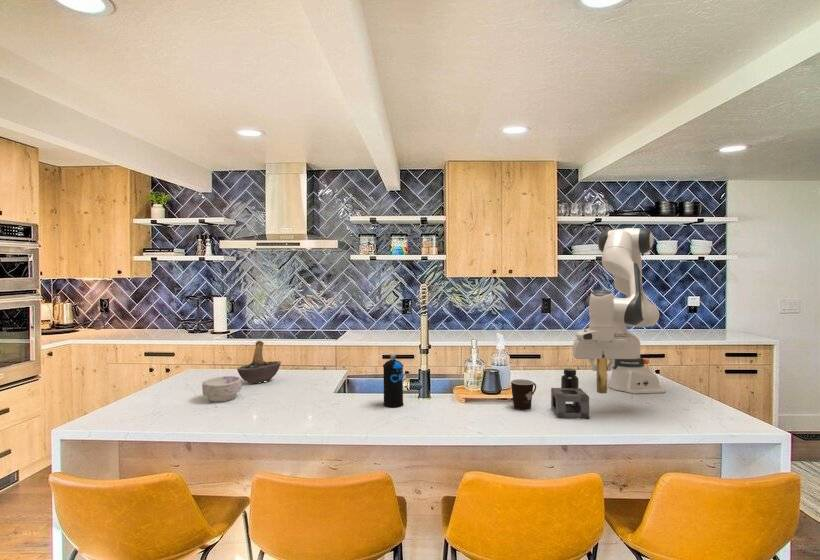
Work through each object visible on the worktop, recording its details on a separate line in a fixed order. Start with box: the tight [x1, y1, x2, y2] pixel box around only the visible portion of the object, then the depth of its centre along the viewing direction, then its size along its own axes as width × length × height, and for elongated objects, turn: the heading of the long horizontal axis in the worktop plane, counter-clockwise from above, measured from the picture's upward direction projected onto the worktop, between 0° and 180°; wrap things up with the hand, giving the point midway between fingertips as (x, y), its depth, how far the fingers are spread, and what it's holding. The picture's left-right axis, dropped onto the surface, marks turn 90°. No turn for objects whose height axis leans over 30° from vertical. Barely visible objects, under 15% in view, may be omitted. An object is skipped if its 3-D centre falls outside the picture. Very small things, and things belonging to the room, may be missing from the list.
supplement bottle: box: [560, 368, 580, 388], centre depth 185 cm, size 7×7×12 cm
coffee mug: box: [510, 378, 537, 411], centre depth 174 cm, size 12×9×10 cm
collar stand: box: [550, 387, 590, 420], centre depth 166 cm, size 11×11×8 cm
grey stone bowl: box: [201, 375, 243, 403], centre depth 188 cm, size 15×15×8 cm
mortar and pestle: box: [236, 340, 282, 384], centre depth 214 cm, size 15×17×20 cm
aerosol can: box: [382, 354, 405, 409], centre depth 178 cm, size 8×8×20 cm
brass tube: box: [596, 351, 608, 394], centre depth 167 cm, size 4×4×16 cm
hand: (601, 370), depth 167 cm, fingers closed on brass tube, 4 cm apart
